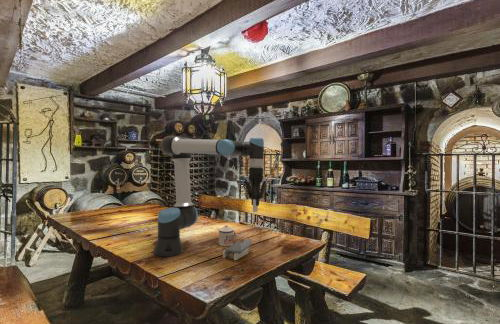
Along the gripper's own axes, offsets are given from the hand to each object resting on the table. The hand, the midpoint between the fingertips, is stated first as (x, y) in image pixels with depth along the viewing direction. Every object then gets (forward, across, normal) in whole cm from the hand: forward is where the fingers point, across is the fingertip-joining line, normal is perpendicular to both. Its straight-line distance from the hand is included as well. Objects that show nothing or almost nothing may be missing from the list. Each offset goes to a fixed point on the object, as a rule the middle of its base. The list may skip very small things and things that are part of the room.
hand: (255, 211), depth 146 cm
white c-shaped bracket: (+24, -10, 0) cm, 26 cm away
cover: (+20, -9, 0) cm, 22 cm away
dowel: (+24, -10, -4) cm, 27 cm away
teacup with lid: (+25, -25, +12) cm, 37 cm away
